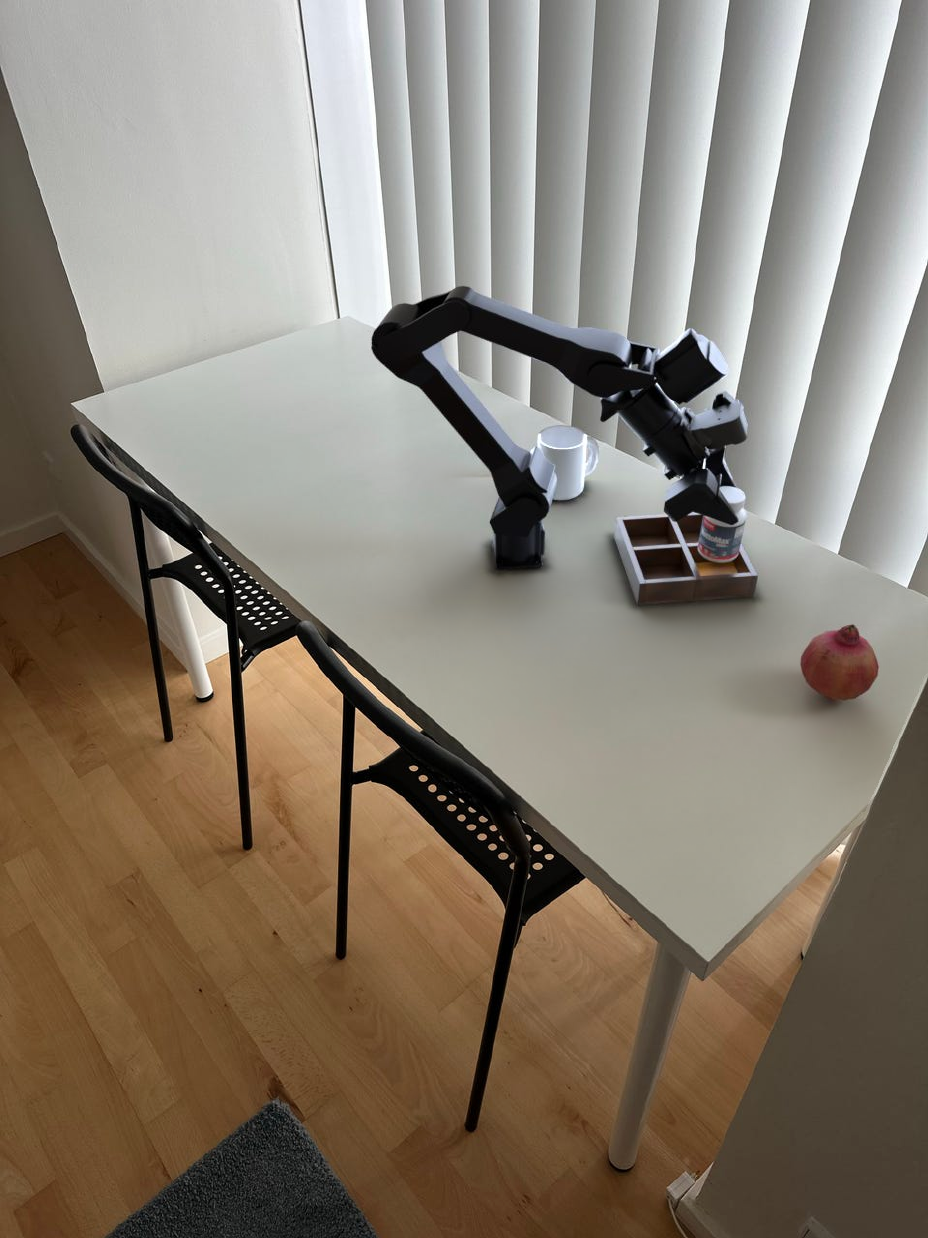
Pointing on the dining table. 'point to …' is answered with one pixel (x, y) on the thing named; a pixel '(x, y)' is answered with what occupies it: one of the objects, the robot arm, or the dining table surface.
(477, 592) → the dining table surface
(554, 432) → the cup
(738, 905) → the dining table surface
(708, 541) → the pill bottle
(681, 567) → the divided tray
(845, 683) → the fruit
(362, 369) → the dining table surface
